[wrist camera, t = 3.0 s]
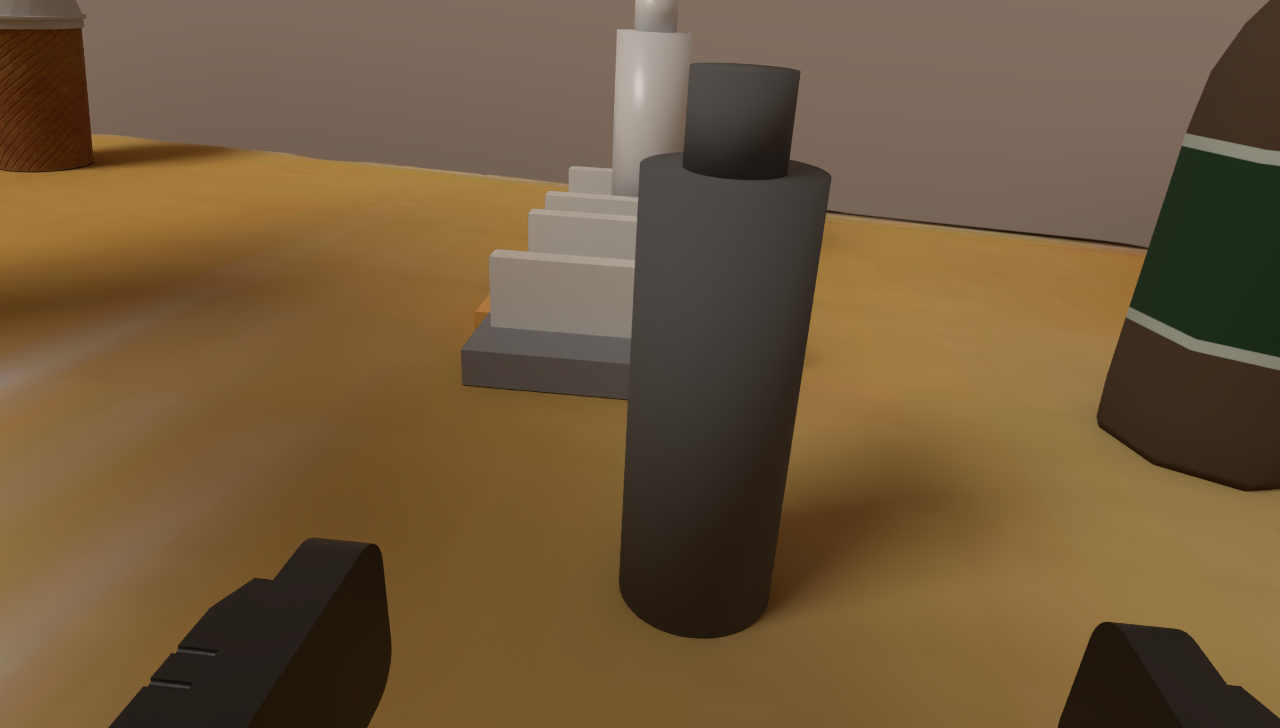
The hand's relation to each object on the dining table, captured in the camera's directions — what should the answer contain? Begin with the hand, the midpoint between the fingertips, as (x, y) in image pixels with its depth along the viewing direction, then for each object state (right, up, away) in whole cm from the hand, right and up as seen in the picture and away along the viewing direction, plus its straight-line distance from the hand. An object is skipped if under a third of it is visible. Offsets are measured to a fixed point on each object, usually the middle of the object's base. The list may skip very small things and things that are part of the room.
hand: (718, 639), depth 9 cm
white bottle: (-1, +10, +37) cm, 38 cm away
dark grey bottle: (+1, -3, +12) cm, 13 cm away
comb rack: (-1, +7, +33) cm, 33 cm away
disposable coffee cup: (-47, +19, +53) cm, 73 cm away
